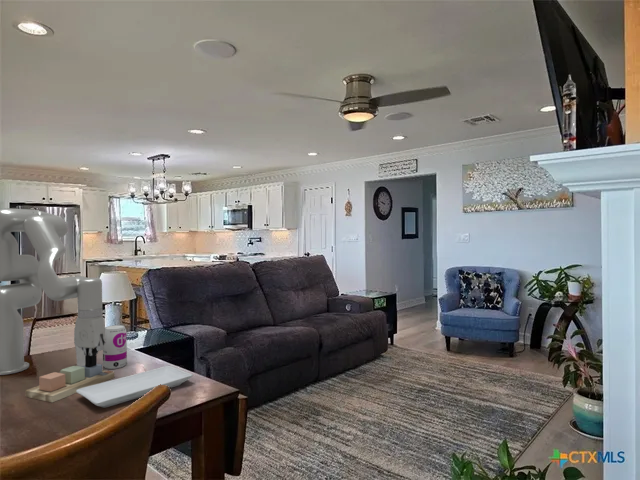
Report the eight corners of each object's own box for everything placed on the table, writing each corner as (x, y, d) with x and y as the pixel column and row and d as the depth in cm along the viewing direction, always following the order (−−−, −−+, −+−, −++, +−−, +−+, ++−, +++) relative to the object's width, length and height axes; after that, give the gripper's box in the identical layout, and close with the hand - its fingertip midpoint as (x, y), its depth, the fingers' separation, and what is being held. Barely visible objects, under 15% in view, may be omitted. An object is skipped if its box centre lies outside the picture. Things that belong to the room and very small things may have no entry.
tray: (74, 399, 130) (74, 388, 130) (168, 373, 154) (168, 364, 154) (96, 415, 119) (96, 403, 119) (194, 384, 143) (194, 374, 143)
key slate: (79, 378, 145) (79, 367, 145) (91, 374, 150) (91, 362, 150) (90, 380, 143) (89, 369, 143) (102, 375, 148) (102, 364, 148)
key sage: (60, 382, 139) (60, 370, 139) (74, 377, 143) (73, 365, 143) (71, 384, 137) (71, 372, 137) (84, 379, 142) (84, 367, 141)
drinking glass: (86, 369, 157) (85, 329, 157) (70, 368, 159) (69, 328, 158) (98, 363, 164) (98, 325, 164) (83, 362, 165) (83, 324, 165)
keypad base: (25, 396, 132) (25, 389, 132) (89, 373, 153) (89, 366, 153) (52, 402, 127) (52, 395, 127) (114, 377, 149) (114, 371, 149)
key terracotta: (39, 389, 132) (39, 377, 132) (54, 384, 137) (54, 372, 137) (50, 391, 130) (50, 379, 130) (65, 386, 135) (65, 373, 135)
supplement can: (131, 365, 162) (130, 326, 162) (110, 371, 155) (110, 330, 155) (118, 361, 167) (118, 323, 166) (98, 367, 160) (98, 327, 159)
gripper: (64, 314, 145) (65, 366, 146) (96, 317, 140) (97, 372, 140) (84, 310, 152) (84, 360, 153) (115, 313, 147) (116, 365, 147)
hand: (91, 365), depth 146 cm, fingers closed
